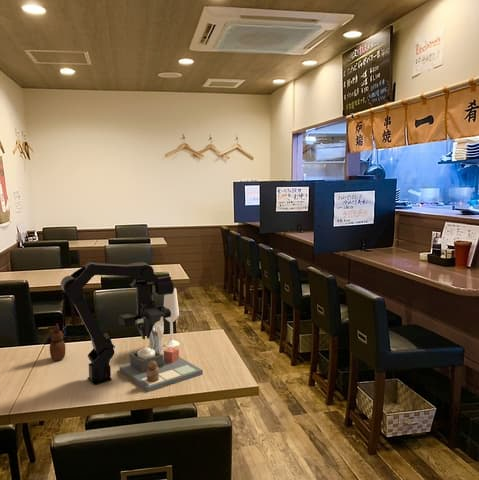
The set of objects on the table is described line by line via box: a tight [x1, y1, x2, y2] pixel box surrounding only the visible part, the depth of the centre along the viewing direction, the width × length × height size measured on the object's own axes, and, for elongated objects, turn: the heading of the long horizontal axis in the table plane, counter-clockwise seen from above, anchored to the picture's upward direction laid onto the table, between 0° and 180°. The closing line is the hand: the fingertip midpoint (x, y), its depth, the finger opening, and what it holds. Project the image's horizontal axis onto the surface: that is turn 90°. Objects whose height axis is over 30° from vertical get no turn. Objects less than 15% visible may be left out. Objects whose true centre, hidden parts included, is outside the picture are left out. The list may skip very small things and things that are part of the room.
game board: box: [119, 348, 204, 392], centre depth 174 cm, size 22×22×6 cm
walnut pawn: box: [147, 361, 159, 382], centre depth 164 cm, size 4×4×7 cm
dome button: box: [136, 346, 155, 360], centre depth 175 cm, size 6×6×4 cm
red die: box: [163, 347, 180, 363], centre depth 181 cm, size 4×4×4 cm
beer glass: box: [147, 317, 165, 355], centre depth 192 cm, size 7×7×15 cm
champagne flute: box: [163, 287, 180, 348], centre depth 200 cm, size 7×7×24 cm
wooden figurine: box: [49, 322, 66, 361], centre depth 185 cm, size 7×6×15 cm
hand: (145, 338), depth 174 cm, fingers closed
